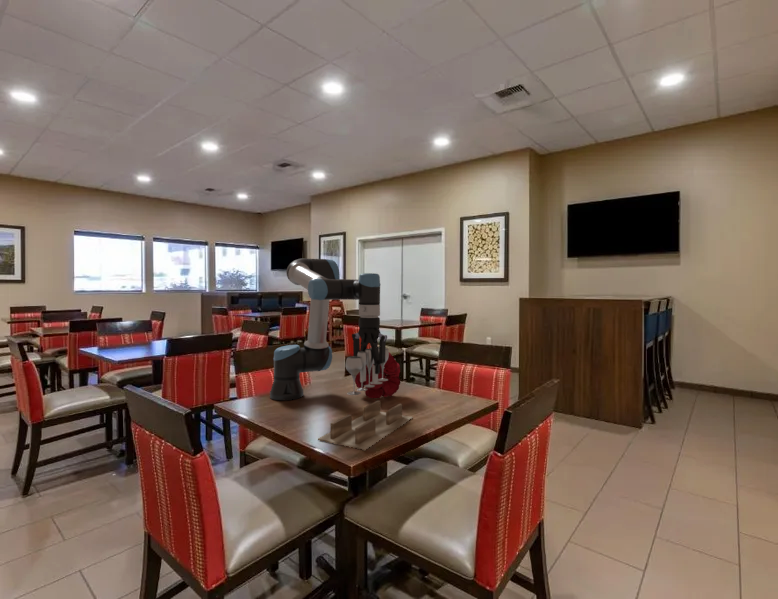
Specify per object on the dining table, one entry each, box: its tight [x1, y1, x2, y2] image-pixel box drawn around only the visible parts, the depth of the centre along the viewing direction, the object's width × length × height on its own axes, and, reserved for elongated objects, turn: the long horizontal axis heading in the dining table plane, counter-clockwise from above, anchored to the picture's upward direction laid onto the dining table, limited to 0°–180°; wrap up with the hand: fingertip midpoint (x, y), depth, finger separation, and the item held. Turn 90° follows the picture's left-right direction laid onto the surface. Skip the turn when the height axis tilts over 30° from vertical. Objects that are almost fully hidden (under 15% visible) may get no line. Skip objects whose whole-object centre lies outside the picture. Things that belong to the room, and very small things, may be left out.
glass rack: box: [317, 400, 414, 451], centre depth 145 cm, size 18×36×6 cm, turn 153°
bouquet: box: [355, 351, 401, 399], centre depth 191 cm, size 22×24×30 cm
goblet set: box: [344, 346, 390, 396], centre depth 145 cm, size 28×6×13 cm, turn 156°
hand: (369, 382), depth 145 cm, fingers closed on goblet set, 4 cm apart
